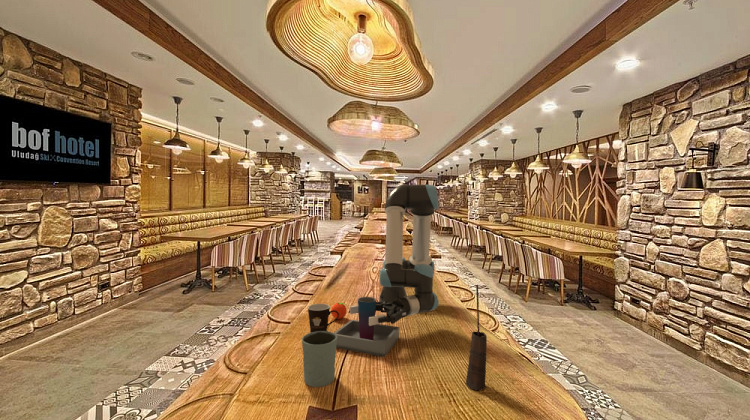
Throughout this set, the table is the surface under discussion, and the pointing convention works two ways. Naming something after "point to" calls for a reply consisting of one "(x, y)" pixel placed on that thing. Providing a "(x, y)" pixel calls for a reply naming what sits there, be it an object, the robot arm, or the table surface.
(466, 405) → the table surface
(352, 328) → the tray
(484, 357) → the butter churn
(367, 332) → the cup
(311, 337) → the grey ceramic tumbler
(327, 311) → the coffee mug
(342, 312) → the clementine
